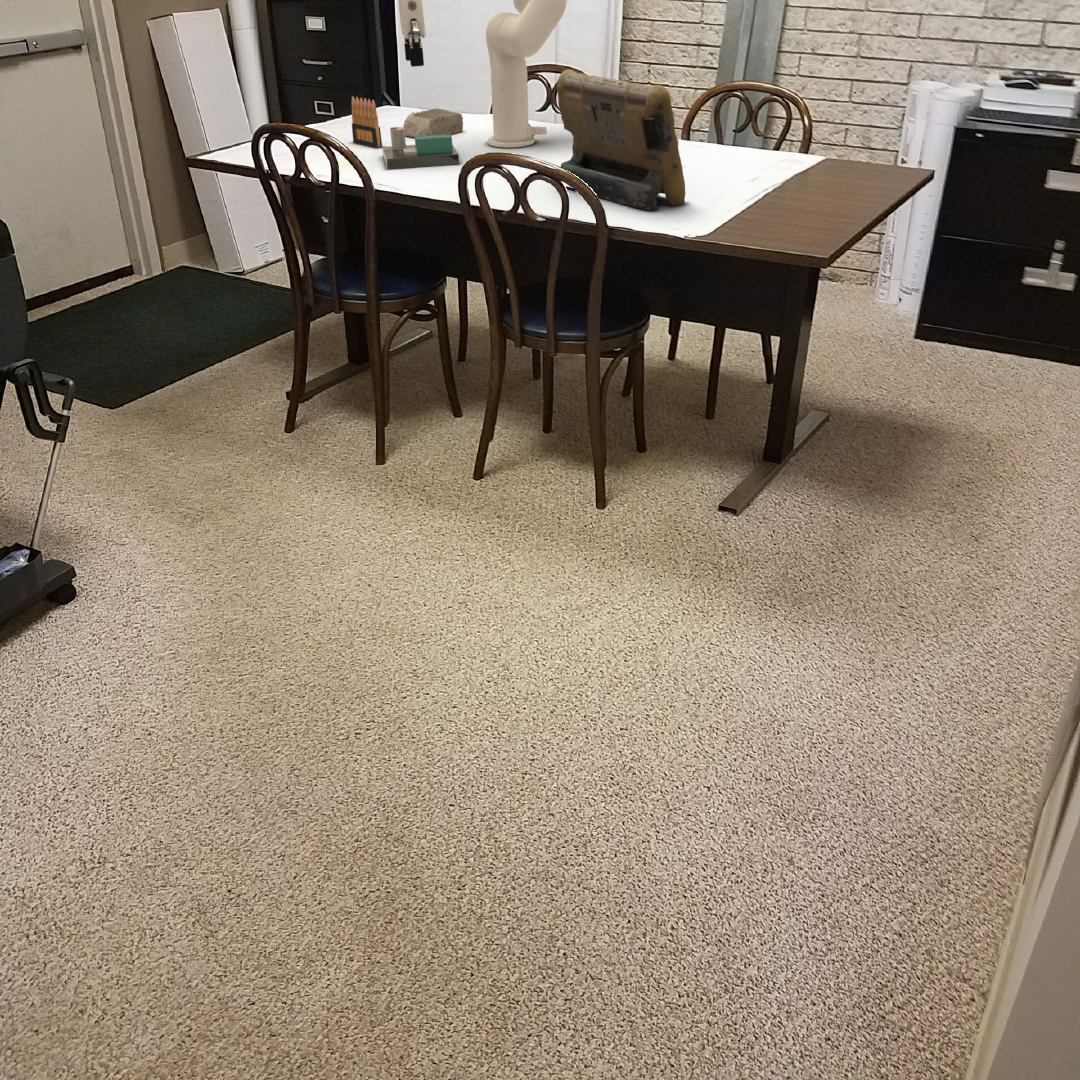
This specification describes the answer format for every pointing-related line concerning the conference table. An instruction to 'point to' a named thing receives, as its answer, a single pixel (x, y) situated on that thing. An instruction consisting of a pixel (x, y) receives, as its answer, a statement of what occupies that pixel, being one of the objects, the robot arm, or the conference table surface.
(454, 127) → the geological specimen
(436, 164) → the hob
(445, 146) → the teal post
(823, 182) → the conference table surface
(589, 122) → the tablet
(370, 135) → the ammunition clip
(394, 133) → the dial
